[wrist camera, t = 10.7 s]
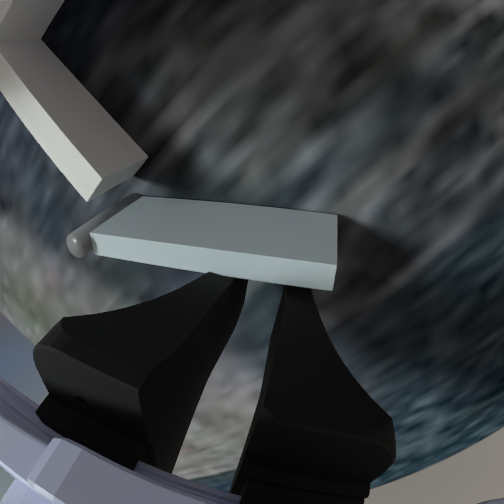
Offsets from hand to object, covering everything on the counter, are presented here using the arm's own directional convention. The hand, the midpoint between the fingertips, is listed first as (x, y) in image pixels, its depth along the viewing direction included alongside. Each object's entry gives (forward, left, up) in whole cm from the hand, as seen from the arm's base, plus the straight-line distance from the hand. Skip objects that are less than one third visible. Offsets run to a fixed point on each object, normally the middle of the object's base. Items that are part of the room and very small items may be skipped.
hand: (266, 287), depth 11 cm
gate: (-3, 0, -2) cm, 3 cm away
